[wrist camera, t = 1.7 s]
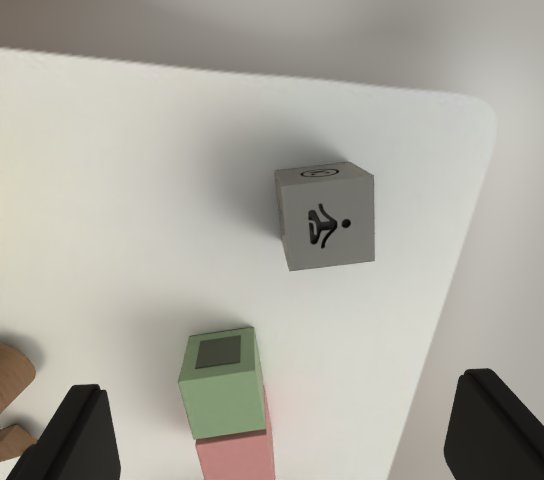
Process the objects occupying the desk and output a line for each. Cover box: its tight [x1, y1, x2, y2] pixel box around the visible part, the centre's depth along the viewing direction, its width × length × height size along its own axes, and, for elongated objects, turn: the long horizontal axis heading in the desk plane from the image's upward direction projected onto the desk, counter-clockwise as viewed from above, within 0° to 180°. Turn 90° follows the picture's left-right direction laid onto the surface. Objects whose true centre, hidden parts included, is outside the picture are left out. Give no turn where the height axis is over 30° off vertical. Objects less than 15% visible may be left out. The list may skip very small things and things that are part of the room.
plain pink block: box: [195, 384, 275, 480], centre depth 29 cm, size 5×5×5 cm
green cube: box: [178, 327, 266, 440], centre depth 27 cm, size 5×5×5 cm
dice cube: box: [275, 162, 375, 271], centre depth 23 cm, size 5×5×5 cm
